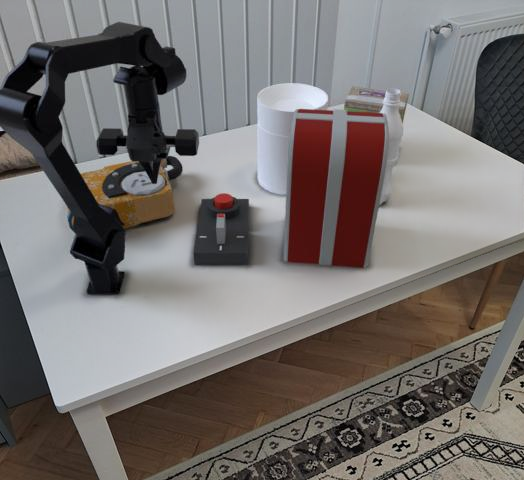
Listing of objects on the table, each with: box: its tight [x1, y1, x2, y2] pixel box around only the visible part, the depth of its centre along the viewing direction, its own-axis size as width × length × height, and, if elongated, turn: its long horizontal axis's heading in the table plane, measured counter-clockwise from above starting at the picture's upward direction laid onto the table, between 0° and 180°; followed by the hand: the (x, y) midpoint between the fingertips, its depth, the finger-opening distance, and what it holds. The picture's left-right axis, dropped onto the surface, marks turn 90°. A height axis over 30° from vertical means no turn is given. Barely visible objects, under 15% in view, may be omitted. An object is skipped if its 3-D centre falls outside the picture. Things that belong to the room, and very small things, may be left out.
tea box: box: [343, 86, 410, 124], centre depth 136 cm, size 15×10×15 cm, turn 73°
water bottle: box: [379, 87, 404, 206], centre depth 116 cm, size 7×7×25 cm
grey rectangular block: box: [216, 214, 226, 244], centre depth 108 cm, size 5×2×4 cm, turn 1°
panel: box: [192, 222, 249, 266], centre depth 111 cm, size 11×11×3 cm
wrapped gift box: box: [283, 108, 389, 269], centre depth 104 cm, size 16×18×27 cm
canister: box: [256, 82, 329, 196], centre depth 125 cm, size 16×16×20 cm
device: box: [66, 155, 184, 235], centre depth 121 cm, size 23×8×30 cm
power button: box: [214, 192, 234, 209], centre depth 116 cm, size 4×4×2 cm
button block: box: [197, 196, 250, 232], centre depth 118 cm, size 10×11×4 cm
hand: (154, 183), depth 106 cm, fingers closed
